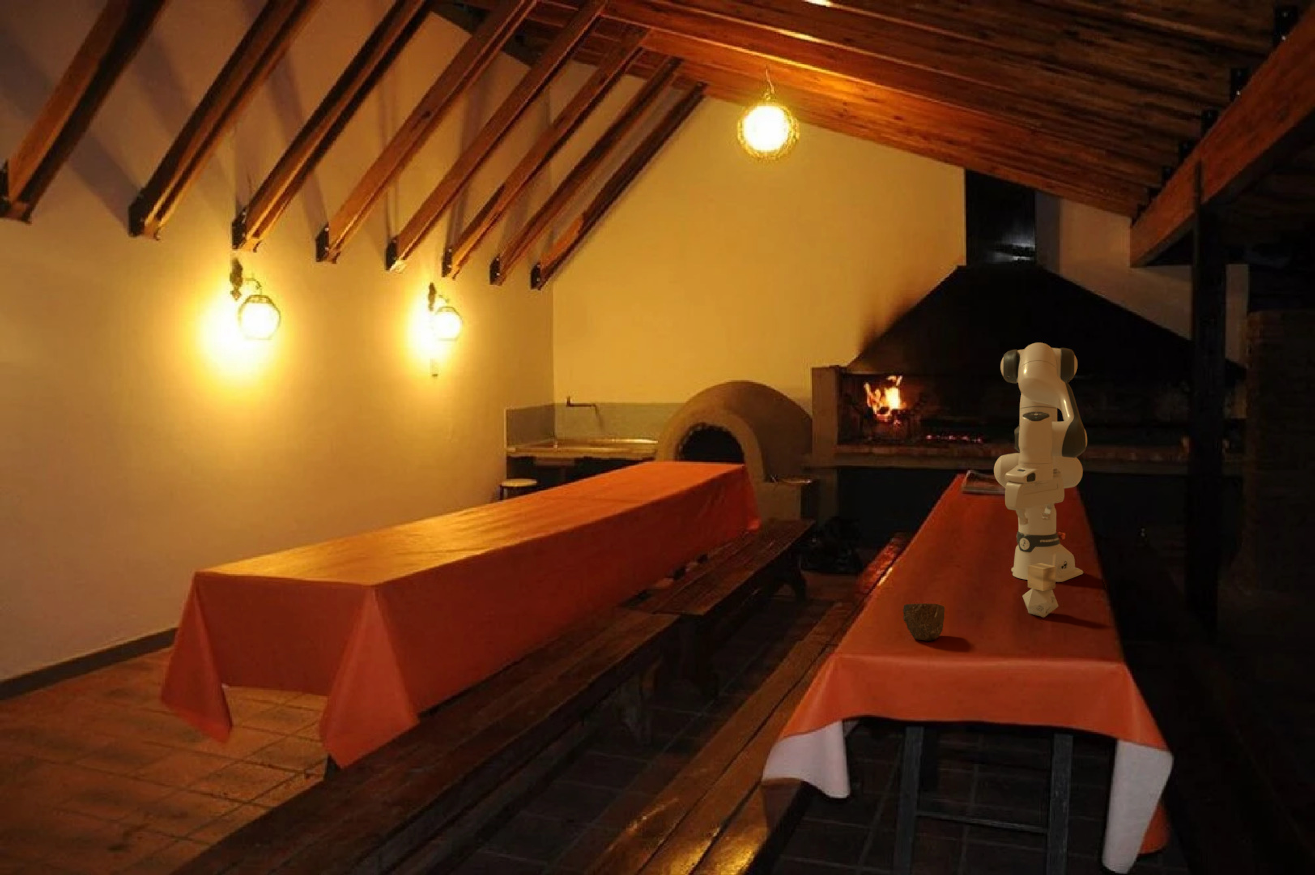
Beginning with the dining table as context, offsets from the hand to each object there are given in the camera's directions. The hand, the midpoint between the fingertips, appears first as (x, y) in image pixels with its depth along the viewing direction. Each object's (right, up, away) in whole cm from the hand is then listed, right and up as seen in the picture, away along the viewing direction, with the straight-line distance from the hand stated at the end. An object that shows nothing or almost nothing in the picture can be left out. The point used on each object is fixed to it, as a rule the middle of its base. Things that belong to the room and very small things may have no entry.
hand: (1035, 522), depth 273 cm
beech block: (+1, -18, -1) cm, 18 cm away
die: (+2, -26, 0) cm, 26 cm away
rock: (-34, -29, -17) cm, 48 cm away
